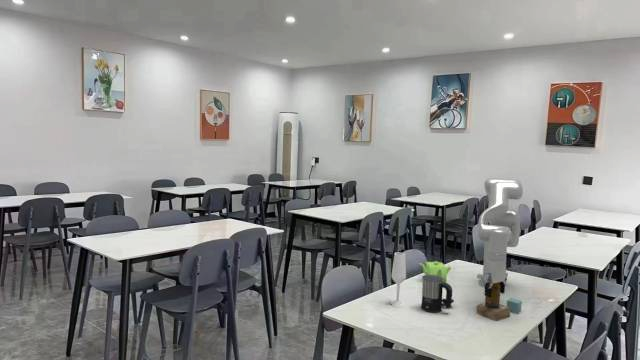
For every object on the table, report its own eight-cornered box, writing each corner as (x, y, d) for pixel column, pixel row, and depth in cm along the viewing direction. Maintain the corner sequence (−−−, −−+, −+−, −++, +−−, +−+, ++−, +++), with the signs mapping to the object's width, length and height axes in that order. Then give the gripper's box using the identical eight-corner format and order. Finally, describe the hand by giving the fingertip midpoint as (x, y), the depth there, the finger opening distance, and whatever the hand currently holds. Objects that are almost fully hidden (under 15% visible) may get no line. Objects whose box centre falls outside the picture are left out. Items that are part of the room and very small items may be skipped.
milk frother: (419, 310, 199) (420, 278, 198) (423, 299, 214) (425, 269, 213) (451, 316, 194) (453, 283, 193) (454, 304, 209) (456, 273, 208)
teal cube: (506, 311, 203) (507, 300, 202) (509, 308, 206) (510, 297, 206) (517, 314, 199) (518, 303, 199) (520, 311, 203) (521, 300, 203)
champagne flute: (387, 303, 207) (389, 253, 205) (395, 300, 212) (397, 251, 210) (399, 307, 202) (402, 256, 200) (407, 304, 207) (410, 253, 205)
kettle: (440, 288, 233) (441, 267, 232) (416, 281, 243) (417, 261, 242) (453, 282, 244) (454, 262, 243) (430, 276, 253) (431, 257, 253)
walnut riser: (476, 313, 198) (477, 304, 198) (489, 309, 204) (490, 300, 204) (496, 321, 190) (497, 312, 190) (509, 316, 196) (510, 307, 196)
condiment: (491, 302, 202) (493, 276, 201) (506, 308, 195) (508, 281, 194) (479, 304, 199) (481, 278, 198) (494, 310, 191) (496, 283, 190)
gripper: (500, 252, 203) (498, 288, 204) (477, 257, 193) (475, 295, 194) (515, 256, 197) (513, 293, 198) (492, 261, 187) (490, 300, 188)
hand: (494, 294), depth 196 cm, fingers open, 9 cm apart
